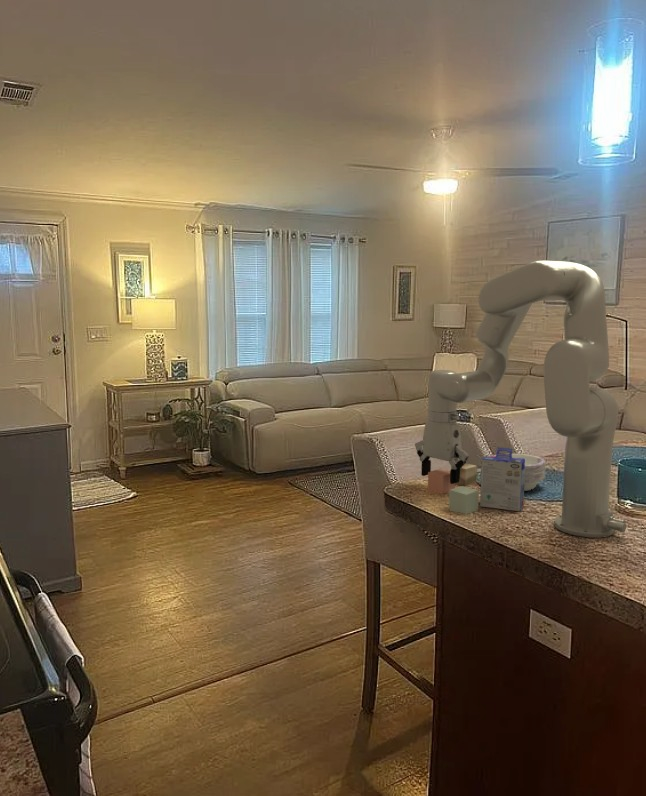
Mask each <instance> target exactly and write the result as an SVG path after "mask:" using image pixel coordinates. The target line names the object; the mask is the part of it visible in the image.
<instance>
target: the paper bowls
mask: <svg viewBox="0 0 646 796" xmlns="http://www.w3.org/2000/svg"><path fill="white" fill-rule="evenodd" d="M492 456H496V454H494V455H492ZM512 457H513V458H525V479H524V492H527V491H528V492H529V491H531V489H532V490H534V489H535V488H536V487H537V485H538V483H539V482H541V481H544V480H545V478H546V465H547V464H546V460H545V459H544V458H543V457H539V456H536V455H531V454H527V453H525V454H523V453H512Z"/></svg>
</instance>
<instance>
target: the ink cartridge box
mask: <svg viewBox="0 0 646 796" xmlns="http://www.w3.org/2000/svg"><path fill="white" fill-rule="evenodd" d="M500 452H508V453H500ZM512 454H513V448H507V447H497V450H496V453H495V455H496V456H493V455H485V456H484V457H483V458H482V459H481V470H480V471H481V472H480V473H481V475H480V476H481V477H480V502H479V506H480V507H483V508H484V507H485V508H491V509H499V510H500V509H501V510H507V511H516V512H521V510H522V509H523V508H524V503H525V501H524V500H525V498H524V497H525V491H524V479H525V458H513V457H512Z"/></svg>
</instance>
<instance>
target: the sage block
mask: <svg viewBox="0 0 646 796" xmlns="http://www.w3.org/2000/svg"><path fill="white" fill-rule="evenodd" d="M448 495H449V496H448V510H449V511H452V512H456V513H459V512H460V513H459V514H463V515H468V514H470V513H474V512H476V511H478V510H479V496H480V495H479V490H478V489H474V488H471V487H467V486H462V485H459V486H457V487H454V489H451V490H449V492H448ZM473 511H474V512H473Z"/></svg>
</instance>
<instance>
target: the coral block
mask: <svg viewBox="0 0 646 796" xmlns="http://www.w3.org/2000/svg"><path fill="white" fill-rule="evenodd" d="M454 488H455V484H451V483H450V470H446V469H442V468H438V469H435V470H431V472H428V475H427V490H428V491H431V492H435V493H437V494H441V495H443V494H446V493H449V490H451V489H454Z"/></svg>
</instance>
